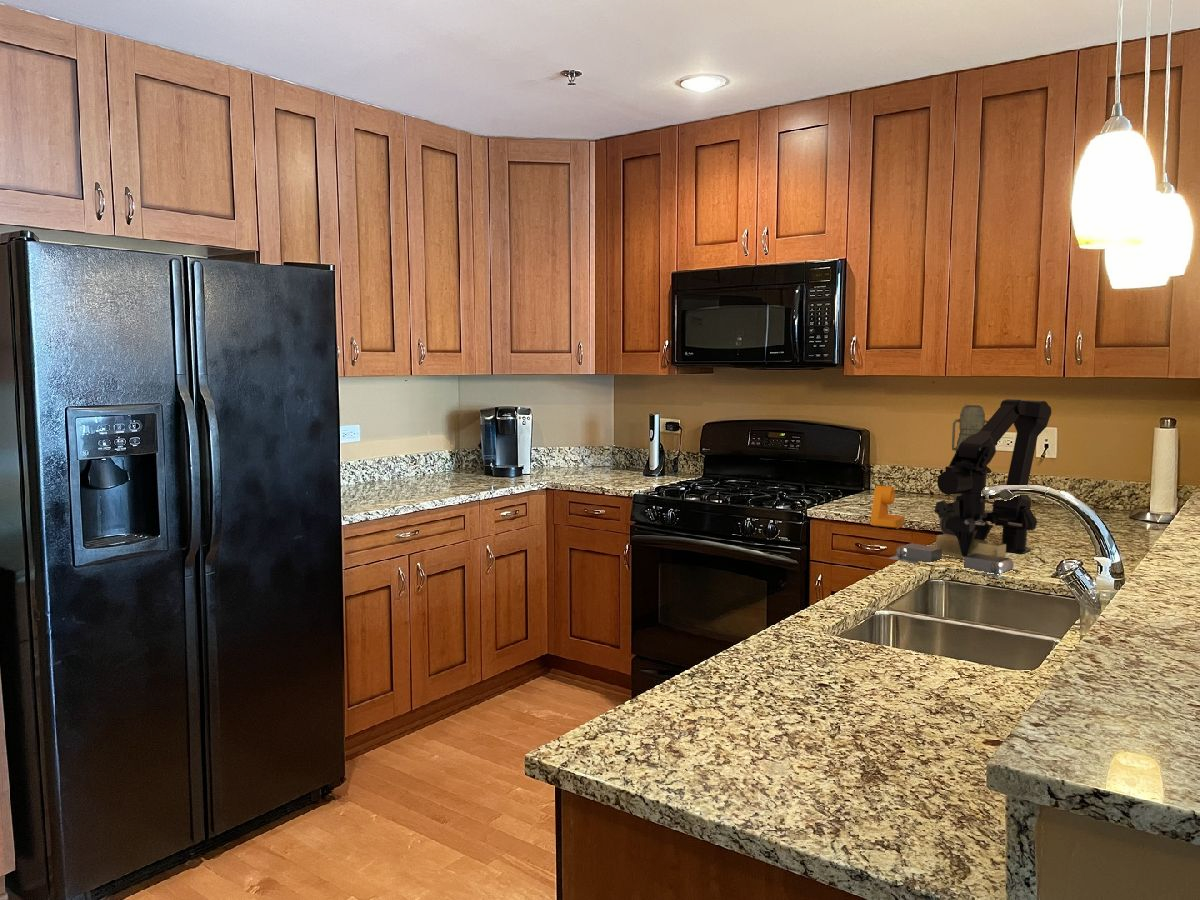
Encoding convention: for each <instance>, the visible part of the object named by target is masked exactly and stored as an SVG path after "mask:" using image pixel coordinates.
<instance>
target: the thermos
mask: <svg viewBox="0 0 1200 900" xmlns="http://www.w3.org/2000/svg"><path fill="white" fill-rule="evenodd" d="M985 418H986V415H985V411H984V407H983V406H981V405H967V404H966V405H965V406H962V408H961V410H960V414H959V418H958V419H957V418H956V419H955V420H954V422H953V423H952V435H951V436H952V437H951V450H952V451H955V453H956V451H957V449H958V447H959V445H960V443H961V442H962V441H964V440H965V439H966V438H967V437H969V436H971V435H974V434H976V433H978V432H979V431H980V430H981V429H982V428H983V427H984V425H985V424H986V423H987V422H988V421H989V420H986V419H985ZM956 423H959V434H958V438H957V441H956V446H955V439H956V437H955V436H956ZM959 495H960V494H953V502H956V497H957V496H959Z"/></svg>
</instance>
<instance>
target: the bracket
mask: <svg viewBox="0 0 1200 900" xmlns="http://www.w3.org/2000/svg"><path fill="white" fill-rule="evenodd" d="M895 497H896V490H895V486H891V485H890V486H888V485H876V486H875V488H874V493H873V500H872V508H871V512H870V513H871V515H870V525H871V526H872V527H878V528H879V527H880V528H888V529H896V530H897V529H901V527H903V526H904V525H903V524H904V523H905V515H898V514H889V506H888V505H894V504H895V503H894V502H895V499H896V498H895Z"/></svg>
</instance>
